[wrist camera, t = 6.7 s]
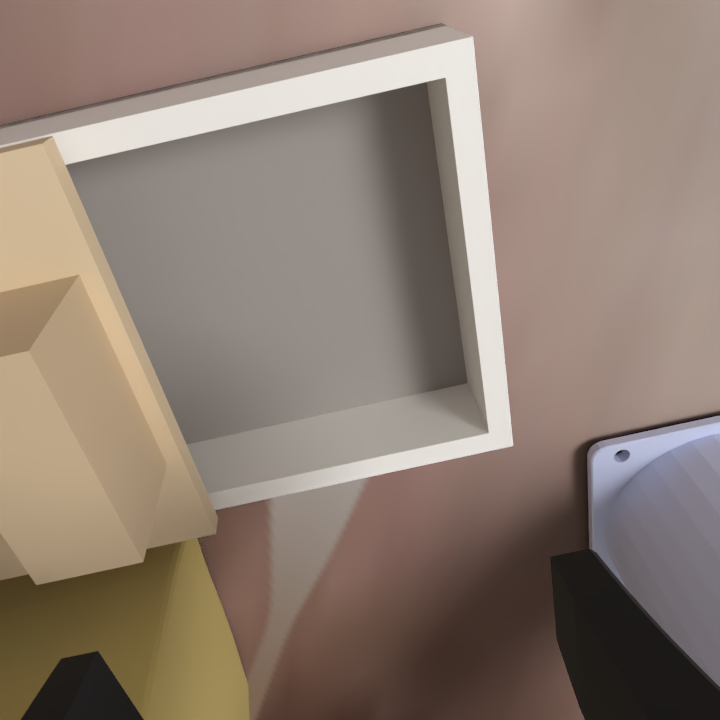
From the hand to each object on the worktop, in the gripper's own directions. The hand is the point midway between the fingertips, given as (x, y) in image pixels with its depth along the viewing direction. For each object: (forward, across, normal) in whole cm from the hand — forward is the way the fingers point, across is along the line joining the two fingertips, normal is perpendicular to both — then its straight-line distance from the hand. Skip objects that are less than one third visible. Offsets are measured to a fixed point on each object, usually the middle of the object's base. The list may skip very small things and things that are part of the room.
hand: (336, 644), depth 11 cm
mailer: (+10, +2, -2) cm, 10 cm away
